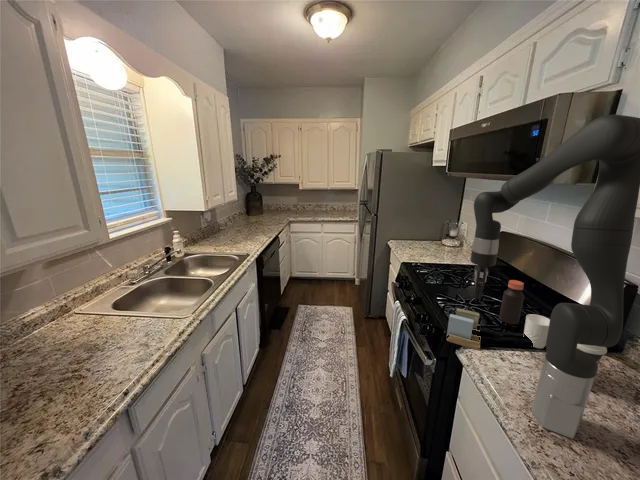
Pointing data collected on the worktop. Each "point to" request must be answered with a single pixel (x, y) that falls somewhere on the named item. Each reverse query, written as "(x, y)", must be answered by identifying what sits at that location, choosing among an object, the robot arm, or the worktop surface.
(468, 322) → the pale blue-grey block
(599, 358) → the coffee cup
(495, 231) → the robot arm
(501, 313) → the bottle
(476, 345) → the dish rack
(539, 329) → the white cup
